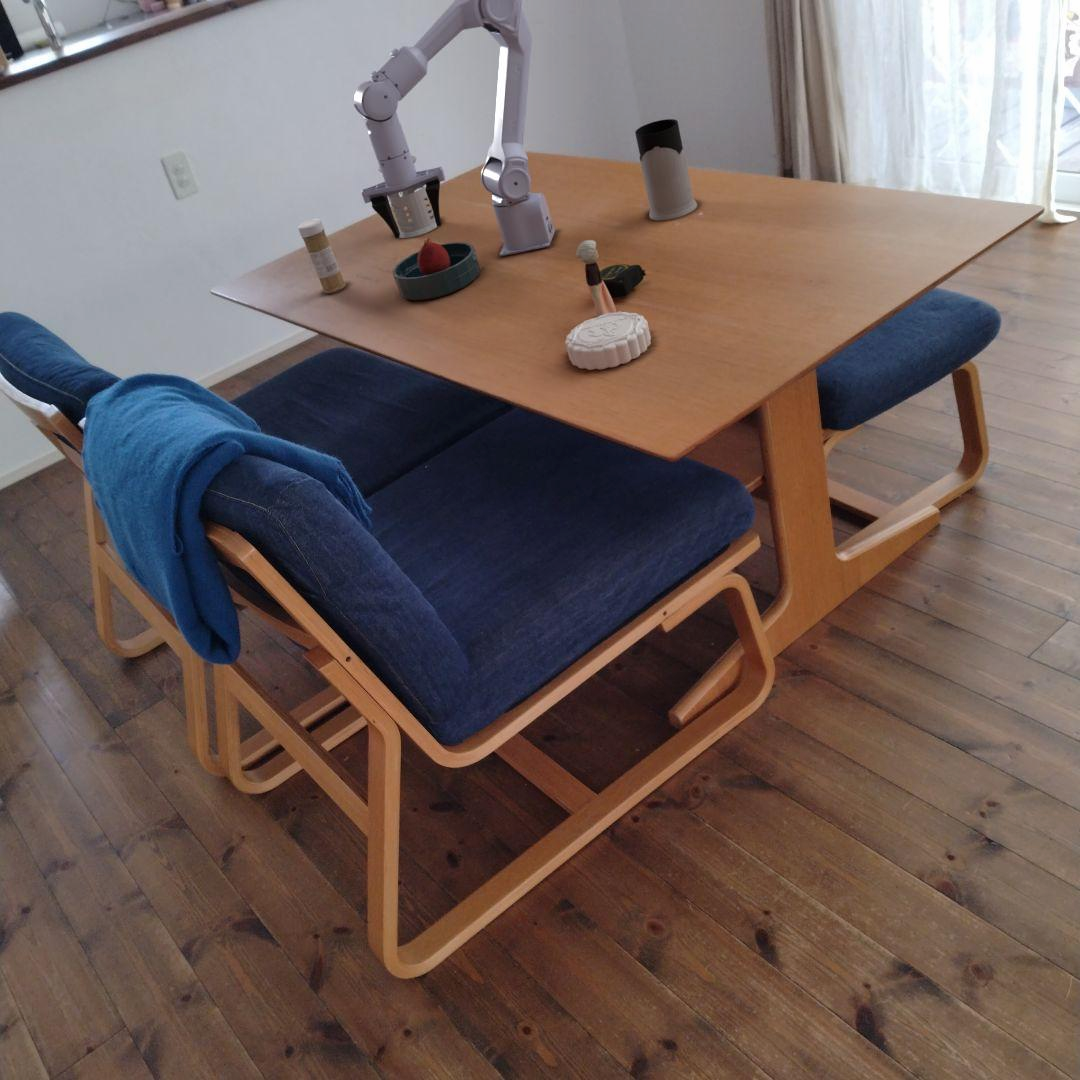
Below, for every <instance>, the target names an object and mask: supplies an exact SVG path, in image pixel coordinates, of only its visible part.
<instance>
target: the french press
mask: <svg viewBox="0 0 1080 1080" xmlns="http://www.w3.org/2000/svg"><path fill="white" fill-rule="evenodd" d="M411 157H412V160H413V163H414V164H415V163H416V162H417V157H416V156H414V155H412V154H411ZM377 171H379V172H380V173H381V174H382V172H381V169H380V166H378V169H377ZM425 189H426V185H423V186H420V187H416V188H413V189H410V190H406V191H403V192H399V193H396V194H392V195H389V196H387V197H388V200H389V203H390V207H391V210H392V214H393V215H394V219H395V221H396V224H397V226H398V229H399V232H400V237H399V238H398V239H409V238H410V239H411V238H414V237H419V236H421V235H423V234H426V233H429V232H431V231H433V230H435V229H436V228H437V227H438V226H437V224H436V222H435V218H434V213H433V210H432V207H431V204H430V201H429V198H428V196H427V193H426V190H425ZM400 195H401V196H400ZM405 208H406V209H405ZM407 214H409V215H407Z"/></svg>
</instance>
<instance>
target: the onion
mask: <svg viewBox="0 0 1080 1080" xmlns="http://www.w3.org/2000/svg"><path fill="white" fill-rule="evenodd" d="M418 252H419V253H418V258H417V259H418V267H419V269H420V271H421V273H422V274H423V275H430V274H433V273H437V272H440V271H443V270H445V269H447V268H449V267H450V258H449V255H448V252H447V251H446V250H445V248H444V247H442V246H441V244H439V243H436V242H433V241H432V238H430V237H426V238H425V239H424V242H423V245H422V246H421V247H420V248H419V250H418Z"/></svg>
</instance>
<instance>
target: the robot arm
mask: <svg viewBox="0 0 1080 1080" xmlns="http://www.w3.org/2000/svg"><path fill="white" fill-rule="evenodd" d="M480 27H481V28H483V29H485V30H486V31H487V32H488V33H489V34H490V35H491V36H492V38H493V39H494V40H495V41H496V42H497V43H498V45H499V47H500V48H499V59H498V60H499V61H498V73H497V86H496V87H497V88H496V99H495V100H496V101H495V113H494V114H495V115H494V126H493V127H494V129H493V141H492V143H491V145H490V146H489V148H488V150H487V156H486V161H485V163H484V165H483V166H482V169H481V172H480V180H481V184H482V186H483V187H484V189H485V190H486V191H487V192H489V193H491V201H490V202H491V204H492V208H493V212H494V215H495V218H496V222H497V225H498V229H499V231H500V236H501V239H502V242H503V246H502V248H501V250H500V252H499V256H500V257H505V256H509V255H514V254H520V253H525V252H530V251H535V250H539V249H545V248H548V247H550V245H551V243H552V240H553V238H554V235H555V233H556V229H555V227H554V225H553V220H552V217H551V212H550V210H549V206H548V205H549V204H548V202H547V198H546V196H545V195H544V193H543V192H531V187H532V177H531V175H530V171H529V158H528V155H527V153H526V149H525V147H524V140H525V139H524V136H525V125H526V112H527V104H528V103H527V102H528V91H529V90H528V89H529V80H530V79H529V78H530V69H531V68H530V67H531V55H532V54H531V53H532V44H533V37H532V36H533V35H532V31H531V29H530V26H529V23H528V21H527V18H526V16H525V13H524V10H523V1H522V0H453V2H452V3H451V4H450V5H449V6H448V8H447V9H446V10H445V11H444V12H443V13H442V14H441V15H440V16H439V17H438V18H437V20H435V22H434V23H433V24H432V26H430V28H429V29H428V30H427V31H426V32H425V33H424V34H423V36H421V38H420V39H419V40H417V42H416V43H415V44H414V45H413V46H407V45H403V46H401V47H400V48H399V49H398V48H394V49H393V50H392V51H390V53H389V54H390V56H391V57H390V58H389V59H388V60H387V62H385V63H384V64H383V65H382V66H381V67H380V69H378V70H377V71H376V70H373V71H372V72H371V74H370V77H371V80H367V81H364V82H362V83H360V84H359V85H358V87H357V88H356V90H355V94H354V103H353V106H354V109H355V110H356V111H357V112H358V113H359V114H360V115H361V116H362V117H363V120H364V123H365V127H366V129H367V134H368V137H369V140H370V143H371V146H372V148H373V151H374V155H375V158H376V160H377V163H378V167H380V169H381V172H382V173H381V172H380V173H381V174H382V177H383V182H380V183H377V184H375V185H372V186H370V187H366V188H364V189H361V196H362V199H363V201H364V204H368V203H371V207H372V209H373V211H374V212H376V213H377V214H378V216H380V217H381V219H383V221H384V222H385V223H386V225H387V226H388V228H389V229H390V230H391V232H392V234H393V236H394V238H395V239H400V238H399V237H400V232H399V227H398V224H397V220H396V218H395V216H394V213H393V210H392V207H391V203H390V201H389V198H388V196H389V195H392V194H396V193H399V194H400V192H401V193H402V192H403V191H406V190H410V189H413V188H416V187H420V186H423V185H424V186H425V190H426V193H427V196H428V197H427V198H428V199H429V202H430V203H429V204H430V205H431V208H432V209H431V210H432V211H433V214H434V218H435V222H436V224H437V227H441V226H442V219H441V215H440V189H441V182H444V181H446V175H445V172H444V169H443V167H442V166H439V167H438V166H437V167H434V168H430V169H424V170H420V171H417V169H416V167H415V163H413V160H412V157H411V155H412V154H411V151H410V148H409V144H408V142H407V140H406V136H405V133H404V129H403V126H402V123H401V122H400V120H399V117H398V114H397V110H398V105H399V102H400V101H402V100H403V99H404V98H405V97H406V96H407V95H408V94H409V93H410V92H411V91H412V90H413V89H414V88H415V87H416V86H417V85H418V84H419V83H420V82H421V81H422V80H423V79H424V78H425V77H426V75H428V64H429V62H430V61H431V60H432V59H433V58H434V57H435V56H436V55H437V54H438V53H440V52H441V51H442V50H443V49H444V48H445V47H446V46H447V45H448V44H450V42H451V41H452V40H454V39H455V38H456V37H457V36H459V34H460V33H461V32H463V31H464V30H465V31H466V30H470V29H476V28H480Z"/></svg>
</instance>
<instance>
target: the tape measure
mask: <svg viewBox="0 0 1080 1080" xmlns="http://www.w3.org/2000/svg"><path fill="white" fill-rule="evenodd" d="M600 273H601V277H602V280H603V282H604V284H605V285H606V287H607V289H608V291H609V294H610V296H611V298H612V300H613V299H619V298H624V297H627V296H628V295H629V294H630V293H631V292H632V291H633V290H634V289H635V288H636V287H637V286H638V285H639V284H640V283H641V282H643V280H644V277H646V270H645V269H643V268H642V266H641V265H640V264H631V265H629V264H626V263H625V264H624V263H618V264H613V265H609V266H606V267H604V268H602V269H601V270H600Z"/></svg>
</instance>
